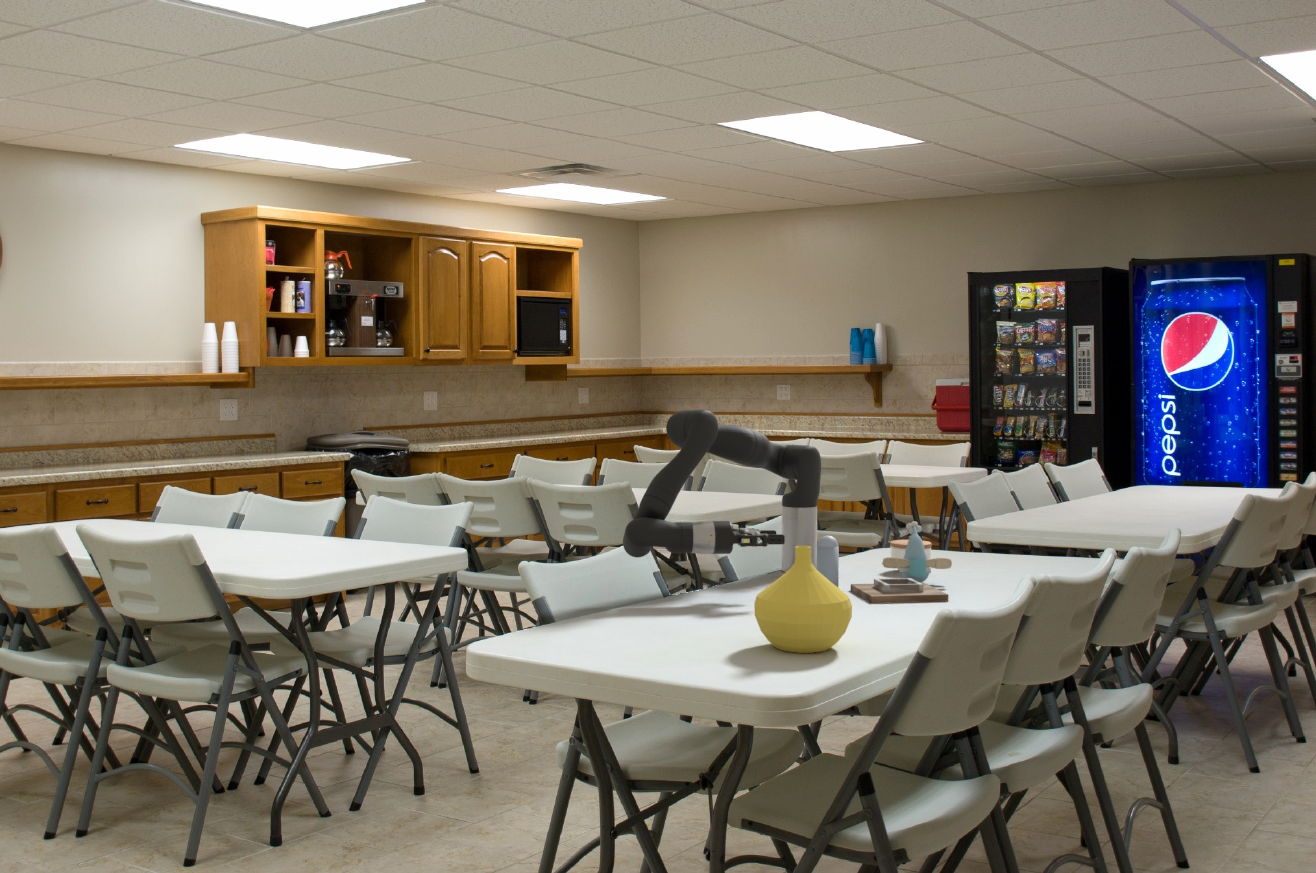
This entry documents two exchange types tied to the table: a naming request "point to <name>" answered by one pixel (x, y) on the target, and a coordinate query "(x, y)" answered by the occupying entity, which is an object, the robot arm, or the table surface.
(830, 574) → the grey rounded-top cylinder
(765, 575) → the table surface
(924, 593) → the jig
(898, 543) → the lidded jar
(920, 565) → the teal toy airplane
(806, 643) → the vase
